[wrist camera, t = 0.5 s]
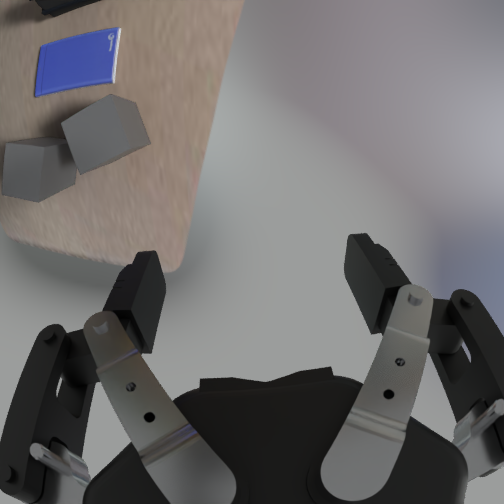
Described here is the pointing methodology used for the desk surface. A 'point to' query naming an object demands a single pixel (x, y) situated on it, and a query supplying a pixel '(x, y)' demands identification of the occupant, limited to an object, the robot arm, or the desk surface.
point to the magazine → (61, 5)
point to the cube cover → (37, 168)
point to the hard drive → (78, 62)
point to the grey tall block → (104, 132)
